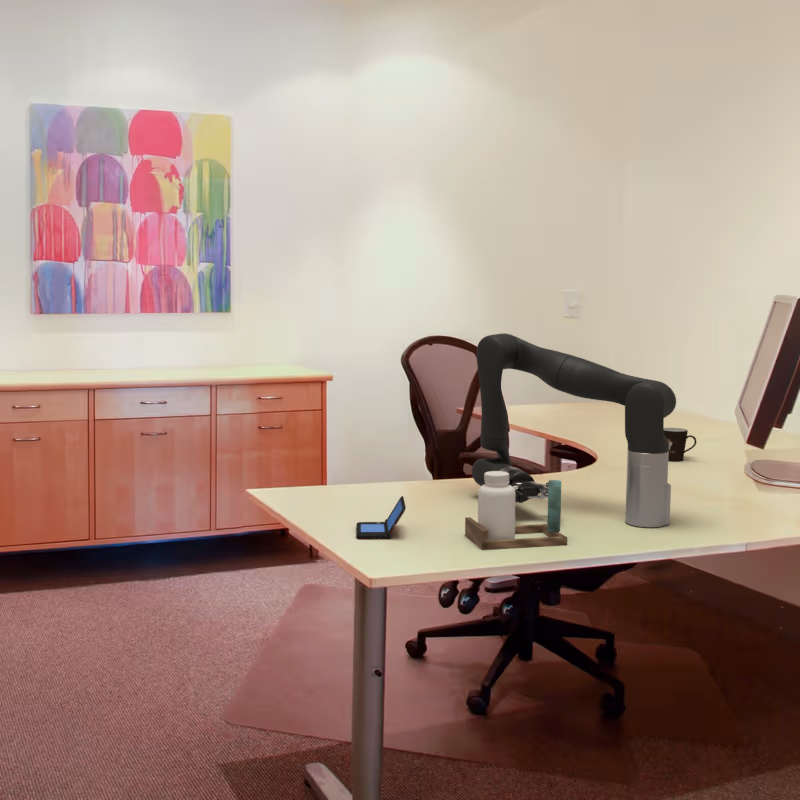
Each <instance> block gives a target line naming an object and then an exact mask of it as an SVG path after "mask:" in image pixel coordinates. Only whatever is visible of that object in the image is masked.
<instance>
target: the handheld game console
mask: <svg viewBox="0 0 800 800" xmlns="http://www.w3.org/2000/svg"><path fill="white" fill-rule="evenodd" d="M406 507H407V506H406V503H405V498H404V496H403V495H401V496H400V498H399V499H398V501H397V502H396V504H395V506H394V508H393V509H392V511H391V512H390V514H389V515H388V517H387V518H385V519H384V521H359V522H356V527H355V529H356V539H357V540H391V538H392V537H391V533H392V532H393V531H394V529H395V528H396V526H397V524H398V523H399V521H400V520H401V518H402V516H403V515H404V513H405V511H406V509H407V508H406Z"/></svg>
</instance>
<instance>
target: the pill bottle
mask: <svg viewBox="0 0 800 800" xmlns="http://www.w3.org/2000/svg"><path fill="white" fill-rule="evenodd" d="M484 480H485V483H486V484H484V485H482V486H480V487H479V488H478V492H477V493H478V497H477V499H478V500H477V503H478V505H477V506H478V507H477V523H478V524H480V525H481V526H482V527H484V528H485V529H486V530H488V540H505V539H516V538H515V535H516V534H515V526H516V502H515V490H514V488H513V487H512V486H511V485H508V483H509V481H508V480H509V473H507V472H503V471H490V472H486V473H485V474H484Z"/></svg>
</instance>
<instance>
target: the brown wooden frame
mask: <svg viewBox="0 0 800 800" xmlns="http://www.w3.org/2000/svg"><path fill="white" fill-rule="evenodd" d="M547 483H548V494H547V495H548V498H547V519H546V520H547V521H546V522H547V524H546V523H541V524H540V523H538V524H537V523H535V524H523V525H522V524H521V525H520V524H519V525H516V524H515V535H519V534H521V535H522V534H537V533H543V534H544V535H546V536H544V537H542V536H541V537H529V538H528V537H525V538H524V537H523V538H515V539H505V540H488V530H486V529H485V528H484V527H482V526H481V525H480V524H478V521H476V520H475V519H473V518H472V517H471V516H470V517H469V516H468V517H465V519H464V520H465V521H464V522H465V524H464V536H465V537H467V539H469V540H470V541H471V542H473V544H475V545H476V546H477V547H478V548H479V549H481V550H482V551H483V550H484V551H485V550H501V549H505V550H506V549H518V548H534V547H535V548H537V547H550V546H551V547H552V546H553V547H554V546H555V547H557V546H567V545H568V537H567V536H565V535H564V534H563V533H561V514H562V513H561V512H562V481H561V480H559V479H550V480H548V482H547Z"/></svg>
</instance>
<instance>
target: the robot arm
mask: <svg viewBox="0 0 800 800" xmlns="http://www.w3.org/2000/svg"><path fill="white" fill-rule="evenodd" d="M476 362H477V363H476V365H477V373H478V381H479V391H480V393H479V394H480V402H481V403H480V405H481V420H480V446H481V448H482V449H484V450H487V451H492V452H495V453H496V454H497V457H488V458H487V457H486V458H485V457H483V458H479V459H476V460H475V462H473V465H472V467H471V475H472V479H473V481H474V482H475V483H476V484H477V485H478V486H480V487H481V486H482V485H484V484H486V483H485V480H484V474H485V473H486V472H490V471H503V472H507V473H509V480H508V481H509V483H508V485H511V486H512V487H513V488H514V490H515V503H518V504H523V503H525V502H527V501H529V500H530V499H536V500H537V499H538V500H544V499H548V482H545V483H538V482H535V479H534V477H532V475H531V474H529V473H527V472H526V471H524V470H522V469H520V468H518V467H514V466H513V465H512V464H513V463H512V461H511V456H510V450H509V443H508V439H509V435H508V434H509V414H508V410H507V406H506V402H505V400H504V396H503V391H502V377H503V372H504V370H516V371H521V372H525V373H527V374H530V375H531V374H532V375H533V376H535V377H537V378H539V379H540V380H541V381H542V382H544V384H546V385H548V386H549V387H550V388H552V389H555V390H557V391H560V392H562V393H565V394H567V395H571V396H573V397H577V398H582V399H587V400H588V399H589V400H595V401H603V402H604V401H606V402H609V403H615V404H619V405H622V406H624V434H625V439H626V441H627V459H626V463H627V464H626V486H625V487H626V488H625V489H626V490H625V512H624V515H625V519H624V520H625V523H626V524H628V525H631V526H635V527H642V528H659V527H661V528H662V527H664V526H667V525H668V526H669V525H670V524H671V523H670V521H671V518H670V516H671V495H672V494H671V493H672V485H671V484H670V483H668V480H669V479H668V477H669V476H668V474H669V461H668V454H669V452H668V451H669V441H668V439H667V438H666V437H665V435H664V428H665V427H664V426H665V425H664V421H665V420H664V419H665V418H667V417H668V416H669V415H671V414H673V412H674V410H675V409H676V405H677V397H676V394H675V392H674V390H673V389H672V388H671V387H670V386H669V385H668V384H666V383H665V382H662V381H659V380H653V379H648V378H643V377H638V376H633V375H629V374H625V373H622V372H619V371H617V370H615V369H613V368H610V367H607V366H604V365H602V364H599V363H596V362H594V361H591V360H589V359H585V358H581V357H579V356H575V355H573V354H570V353H564V352H561V351H558V350H553V349H551V348H545V347H542V346H538V345H535V344H533V343H531V342H529V341H527V340H524V339H522V338H521V337H518V336H516V335H513V334H510V333H506V332H505V333H504V332H503V333H496V334H495V333H494V334H490V335H486V336H484V337H482V338H481V339H480V340H479V342H478V343H477V347H476Z"/></svg>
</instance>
